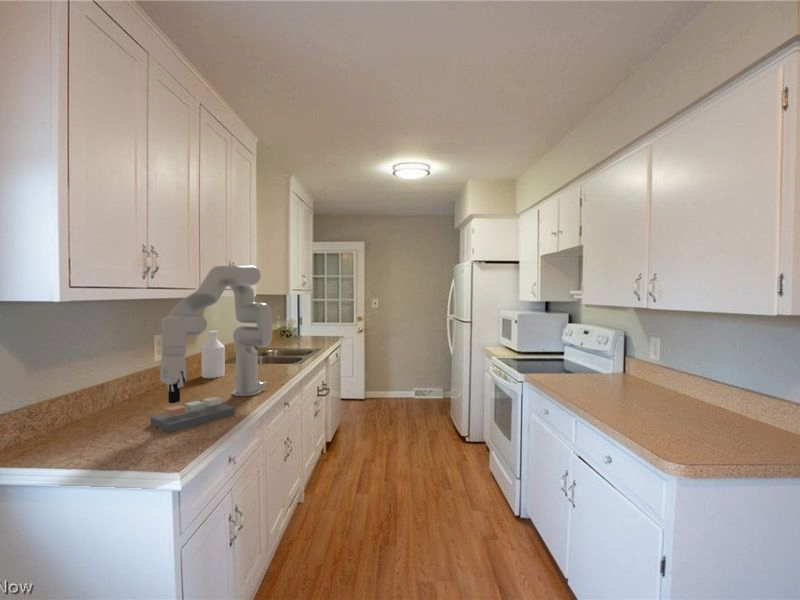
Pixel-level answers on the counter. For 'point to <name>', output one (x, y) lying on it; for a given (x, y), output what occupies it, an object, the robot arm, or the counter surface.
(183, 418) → the keypad
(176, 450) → the counter surface
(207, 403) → the cream key
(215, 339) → the bottle
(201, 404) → the sage key
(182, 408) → the terracotta key
